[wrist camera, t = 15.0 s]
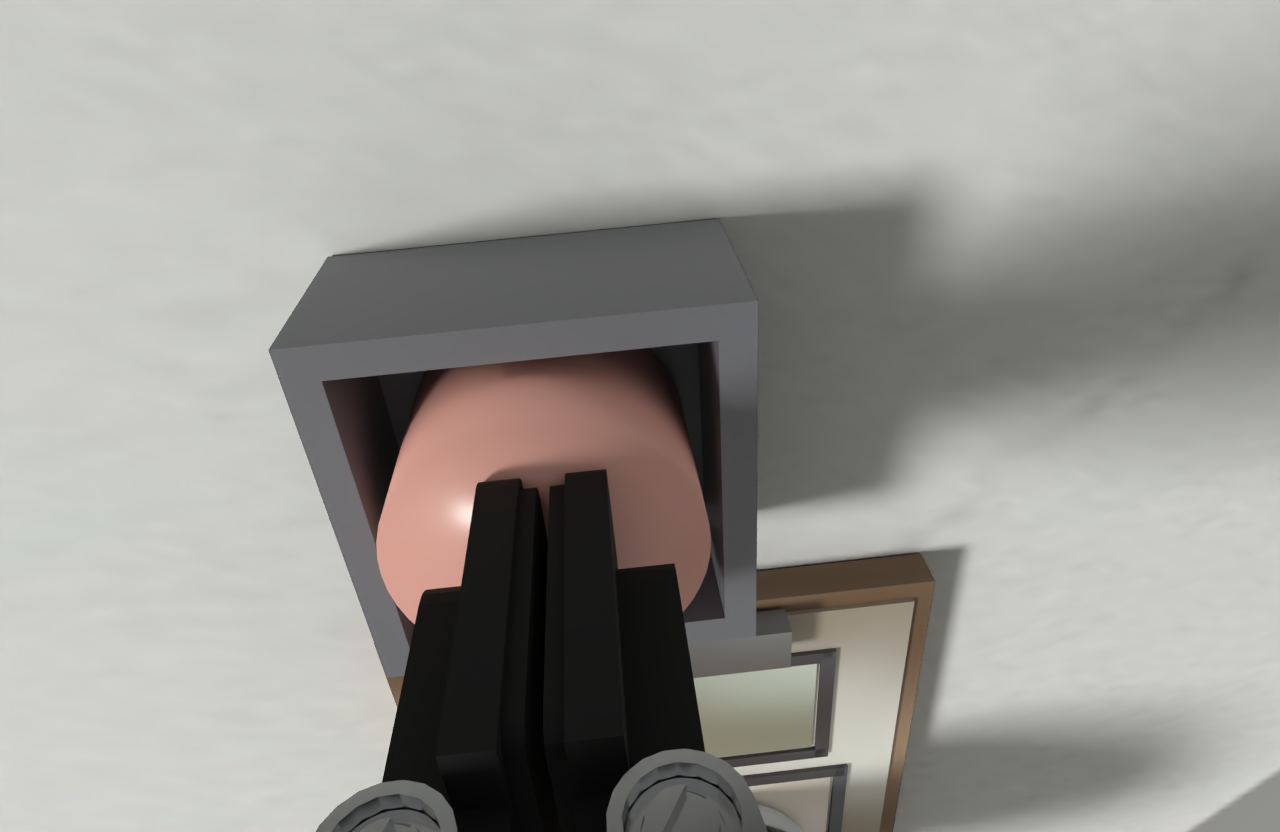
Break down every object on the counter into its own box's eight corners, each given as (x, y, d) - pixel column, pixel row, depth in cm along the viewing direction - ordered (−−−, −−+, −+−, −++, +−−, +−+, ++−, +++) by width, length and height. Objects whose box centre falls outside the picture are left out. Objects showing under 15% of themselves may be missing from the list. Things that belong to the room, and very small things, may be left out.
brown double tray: (382, 612, 17) (366, 672, 15) (920, 553, 17) (948, 606, 16) (503, 964, 25) (500, 1022, 23) (864, 921, 25) (880, 975, 24)
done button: (382, 324, 12) (336, 438, 10) (677, 295, 12) (706, 400, 10) (442, 547, 15) (417, 684, 12) (688, 520, 15) (714, 651, 12)
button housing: (327, 256, 12) (269, 350, 10) (719, 218, 13) (758, 300, 10) (414, 551, 16) (387, 677, 13) (725, 517, 16) (755, 636, 13)
